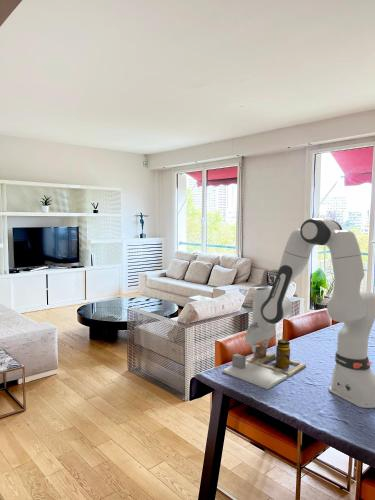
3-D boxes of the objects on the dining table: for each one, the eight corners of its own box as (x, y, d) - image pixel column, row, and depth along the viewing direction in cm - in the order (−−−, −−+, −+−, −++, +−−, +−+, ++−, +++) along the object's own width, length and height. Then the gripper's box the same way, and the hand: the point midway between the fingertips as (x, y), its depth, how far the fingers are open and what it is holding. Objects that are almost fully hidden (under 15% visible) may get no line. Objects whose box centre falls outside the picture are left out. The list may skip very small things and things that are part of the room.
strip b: (286, 378, 161) (287, 363, 161) (267, 389, 151) (268, 374, 150) (243, 362, 177) (243, 349, 176) (222, 372, 166) (223, 358, 165)
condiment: (292, 369, 171) (293, 343, 170) (274, 370, 170) (275, 343, 169) (286, 363, 178) (287, 338, 177) (268, 363, 177) (269, 338, 176)
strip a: (305, 367, 174) (306, 353, 173) (289, 376, 163) (289, 362, 162) (263, 353, 189) (263, 341, 188) (245, 361, 178) (246, 348, 178)
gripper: (254, 326, 171) (252, 356, 172) (278, 318, 185) (276, 346, 187) (242, 323, 175) (241, 352, 176) (267, 315, 190) (265, 342, 191)
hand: (259, 349), depth 182 cm, fingers open, 8 cm apart
